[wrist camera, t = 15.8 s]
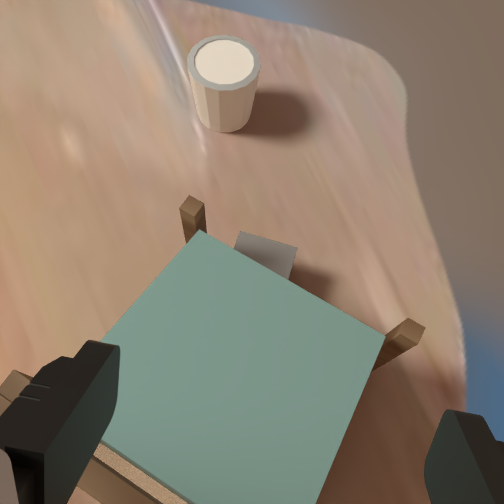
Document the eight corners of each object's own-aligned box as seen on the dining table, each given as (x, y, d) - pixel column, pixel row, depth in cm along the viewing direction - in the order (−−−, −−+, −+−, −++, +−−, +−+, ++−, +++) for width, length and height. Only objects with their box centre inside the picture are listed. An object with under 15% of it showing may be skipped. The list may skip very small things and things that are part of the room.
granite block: (264, 364, 35) (297, 247, 39) (200, 344, 36) (240, 231, 40) (260, 374, 40) (290, 269, 44) (204, 356, 40) (239, 254, 44)
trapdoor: (283, 568, 22) (288, 567, 22) (49, 407, 25) (47, 401, 24) (379, 343, 31) (385, 336, 30) (198, 238, 33) (199, 229, 32)
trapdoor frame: (272, 564, 34) (309, 651, 19) (79, 431, 37) (-24, 414, 22) (371, 362, 40) (458, 306, 25) (198, 261, 43) (183, 156, 28)
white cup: (268, 103, 51) (274, 52, 45) (235, 148, 49) (237, 101, 42) (213, 76, 52) (212, 23, 46) (179, 119, 50) (172, 69, 43)
